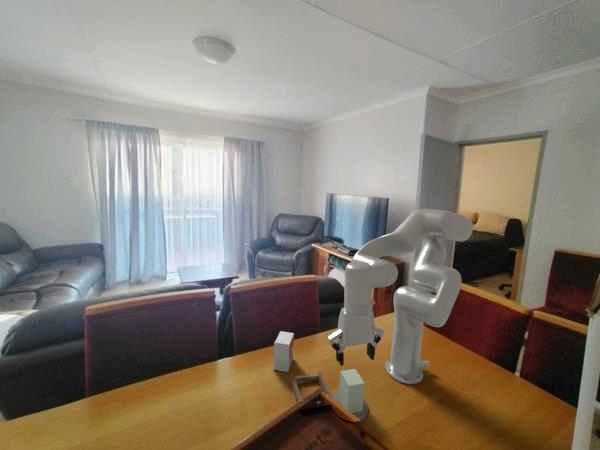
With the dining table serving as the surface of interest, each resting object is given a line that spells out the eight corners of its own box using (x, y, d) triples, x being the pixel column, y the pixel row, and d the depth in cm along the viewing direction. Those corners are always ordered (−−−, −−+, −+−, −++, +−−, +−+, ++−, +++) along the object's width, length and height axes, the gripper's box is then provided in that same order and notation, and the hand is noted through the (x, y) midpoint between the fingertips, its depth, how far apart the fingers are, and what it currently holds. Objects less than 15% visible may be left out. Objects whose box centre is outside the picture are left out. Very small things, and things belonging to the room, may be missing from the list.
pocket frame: (320, 377, 88) (320, 372, 88) (332, 405, 77) (332, 399, 77) (290, 382, 85) (291, 376, 85) (299, 410, 74) (299, 404, 74)
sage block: (353, 395, 80) (355, 368, 79) (362, 411, 74) (364, 383, 73) (338, 397, 79) (340, 371, 78) (346, 414, 73) (348, 385, 72)
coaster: (357, 389, 83) (357, 387, 83) (375, 418, 73) (375, 416, 73) (325, 394, 81) (325, 392, 81) (339, 425, 70) (339, 423, 70)
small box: (288, 373, 90) (289, 345, 88) (272, 370, 91) (273, 342, 89) (293, 358, 97) (294, 332, 96) (279, 356, 98) (280, 330, 97)
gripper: (377, 296, 78) (375, 347, 81) (324, 303, 74) (323, 356, 77) (392, 308, 71) (388, 363, 74) (333, 316, 67) (332, 374, 70)
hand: (355, 359), depth 76 cm, fingers open, 9 cm apart
